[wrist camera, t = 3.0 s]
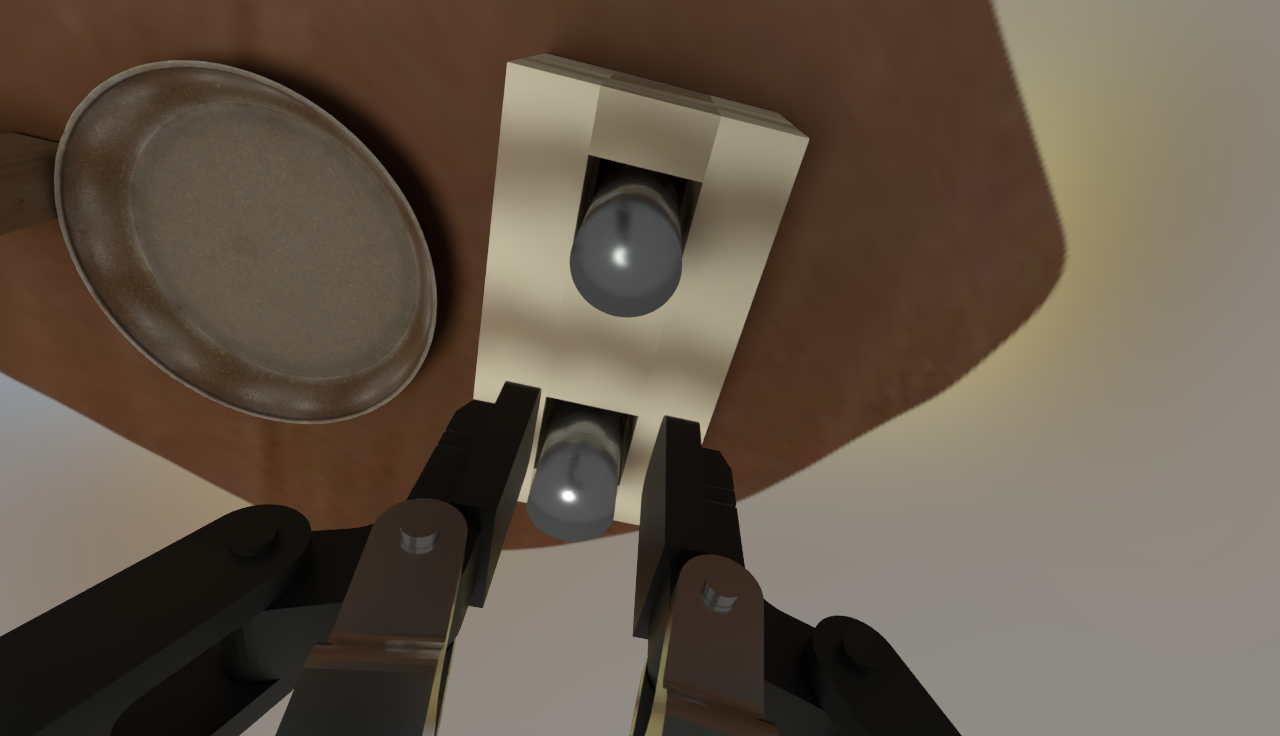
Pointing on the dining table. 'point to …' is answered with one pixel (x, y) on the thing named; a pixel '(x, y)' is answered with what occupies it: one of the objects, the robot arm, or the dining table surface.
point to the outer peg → (577, 473)
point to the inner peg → (629, 244)
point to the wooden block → (26, 181)
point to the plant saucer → (245, 241)
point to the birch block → (551, 218)
